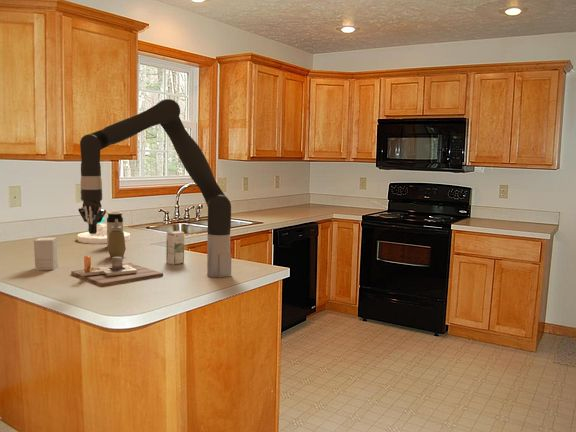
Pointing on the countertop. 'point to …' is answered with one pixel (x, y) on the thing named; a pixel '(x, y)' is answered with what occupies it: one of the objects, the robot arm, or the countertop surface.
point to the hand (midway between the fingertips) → (92, 233)
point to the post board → (117, 279)
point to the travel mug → (111, 220)
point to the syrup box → (175, 247)
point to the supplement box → (45, 253)
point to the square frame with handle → (105, 269)
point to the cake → (98, 236)
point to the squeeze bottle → (116, 241)
